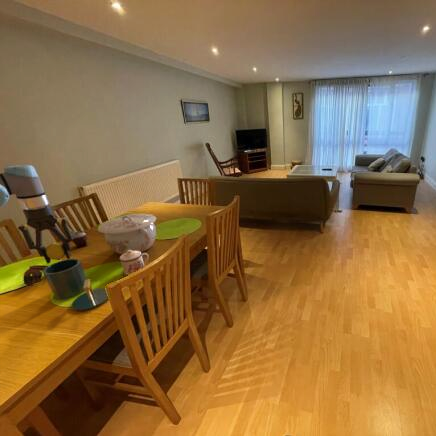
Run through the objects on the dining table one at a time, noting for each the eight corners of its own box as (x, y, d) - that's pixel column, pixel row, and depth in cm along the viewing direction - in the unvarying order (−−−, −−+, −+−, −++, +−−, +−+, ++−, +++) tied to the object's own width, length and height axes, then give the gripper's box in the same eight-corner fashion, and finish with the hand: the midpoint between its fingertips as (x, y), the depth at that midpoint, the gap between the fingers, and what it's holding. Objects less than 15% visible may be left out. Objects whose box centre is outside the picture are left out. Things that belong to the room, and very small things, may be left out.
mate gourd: (92, 242, 146) (84, 220, 140) (80, 249, 139) (71, 225, 133) (81, 242, 147) (72, 219, 141) (69, 248, 139) (59, 225, 134)
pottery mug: (21, 282, 111) (26, 264, 112) (50, 282, 118) (54, 265, 119) (21, 287, 103) (26, 268, 104) (51, 286, 110) (56, 268, 111)
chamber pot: (116, 241, 147) (106, 210, 139) (165, 235, 155) (158, 205, 147) (98, 266, 122) (84, 229, 114) (157, 257, 130) (148, 222, 122)
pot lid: (70, 316, 91) (62, 298, 88) (75, 297, 101) (68, 280, 98) (111, 303, 97) (105, 286, 94) (112, 286, 107) (106, 270, 104)
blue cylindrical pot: (52, 303, 98) (39, 277, 93) (57, 287, 106) (46, 263, 102) (88, 292, 103) (78, 268, 99) (90, 279, 112) (81, 255, 108)
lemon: (63, 255, 102) (56, 238, 99) (71, 258, 100) (64, 241, 97) (47, 262, 98) (39, 244, 95) (55, 265, 96) (47, 247, 93)
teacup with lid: (129, 278, 112) (122, 257, 108) (120, 272, 117) (114, 251, 113) (155, 267, 121) (149, 246, 117) (146, 261, 126) (140, 242, 122)
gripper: (70, 200, 98) (88, 249, 107) (4, 208, 88) (30, 262, 97) (66, 205, 92) (86, 256, 101) (-4, 214, 83) (25, 271, 91)
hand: (59, 259), depth 99 cm, fingers closed on lemon, 5 cm apart
